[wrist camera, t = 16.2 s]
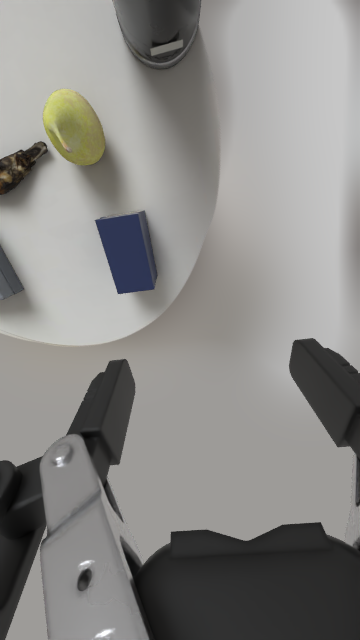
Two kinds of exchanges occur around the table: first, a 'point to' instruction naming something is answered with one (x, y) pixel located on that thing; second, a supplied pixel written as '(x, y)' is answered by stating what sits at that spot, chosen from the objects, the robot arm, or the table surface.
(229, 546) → the robot arm
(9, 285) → the grey stack
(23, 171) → the bird model
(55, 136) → the fruit
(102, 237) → the navy book
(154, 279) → the navy stack
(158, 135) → the table surface
